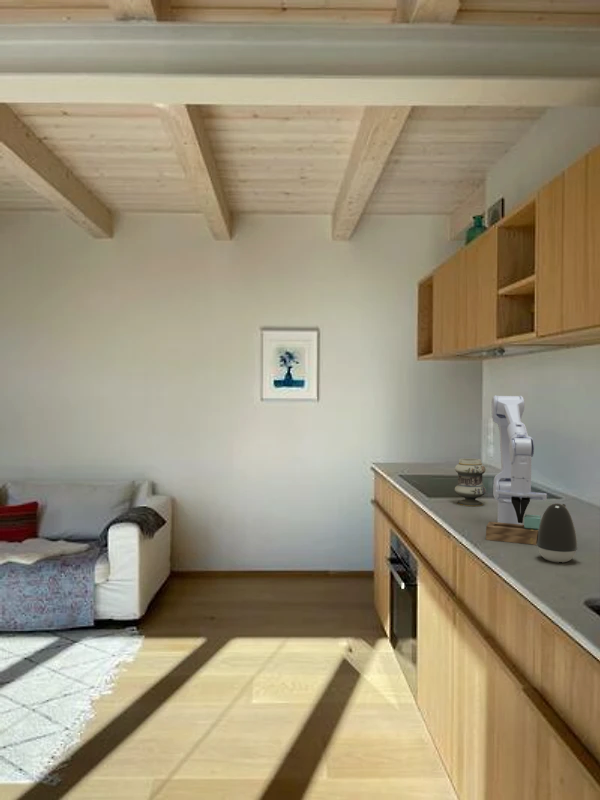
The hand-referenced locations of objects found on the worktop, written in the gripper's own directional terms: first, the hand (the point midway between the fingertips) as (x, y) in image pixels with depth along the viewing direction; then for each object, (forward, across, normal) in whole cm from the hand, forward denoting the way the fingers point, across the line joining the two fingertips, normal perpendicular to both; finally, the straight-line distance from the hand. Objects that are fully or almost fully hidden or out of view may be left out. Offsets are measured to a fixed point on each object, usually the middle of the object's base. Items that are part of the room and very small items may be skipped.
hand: (520, 522), depth 187 cm
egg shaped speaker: (+6, +10, -19) cm, 22 cm away
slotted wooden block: (+5, +2, 0) cm, 6 cm away
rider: (+3, +3, 0) cm, 5 cm away
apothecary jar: (+6, -22, +55) cm, 60 cm away
